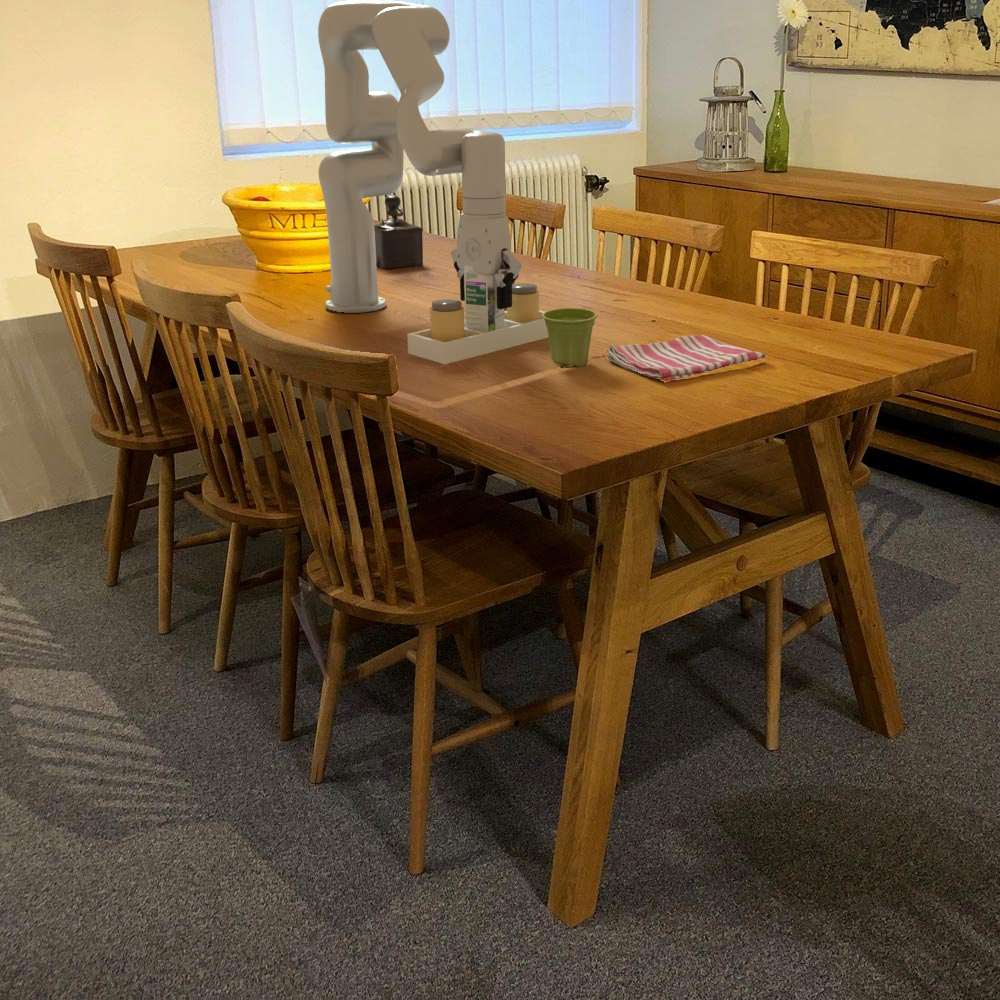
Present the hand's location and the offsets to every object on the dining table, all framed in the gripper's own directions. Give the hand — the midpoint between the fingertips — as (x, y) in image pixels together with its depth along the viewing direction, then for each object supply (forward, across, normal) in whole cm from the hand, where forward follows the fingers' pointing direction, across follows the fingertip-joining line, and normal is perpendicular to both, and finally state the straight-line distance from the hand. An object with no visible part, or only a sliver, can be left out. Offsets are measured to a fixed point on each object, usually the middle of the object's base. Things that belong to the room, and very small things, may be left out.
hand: (486, 303), depth 207 cm
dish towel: (+9, +32, +18) cm, 38 cm away
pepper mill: (+8, -72, +37) cm, 81 cm away
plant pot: (+8, +18, +3) cm, 20 cm away
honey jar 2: (+7, 0, +9) cm, 12 cm away
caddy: (+8, 0, 0) cm, 8 cm away
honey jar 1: (+7, 0, -9) cm, 12 cm away
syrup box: (+7, 0, 0) cm, 8 cm away
